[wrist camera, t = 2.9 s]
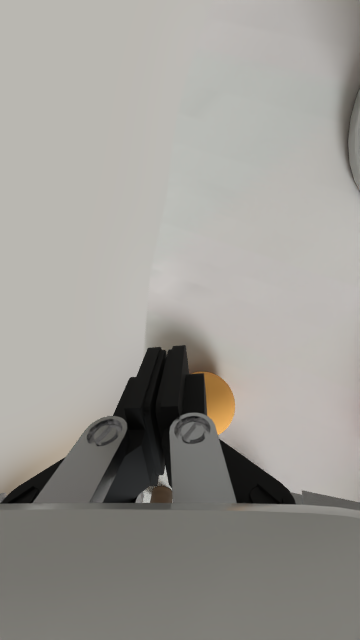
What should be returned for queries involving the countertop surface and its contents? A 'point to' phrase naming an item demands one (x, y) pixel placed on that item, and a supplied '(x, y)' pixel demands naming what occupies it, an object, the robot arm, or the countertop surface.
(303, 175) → the countertop surface
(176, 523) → the robot arm
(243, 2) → the countertop surface
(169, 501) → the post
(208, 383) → the ball
